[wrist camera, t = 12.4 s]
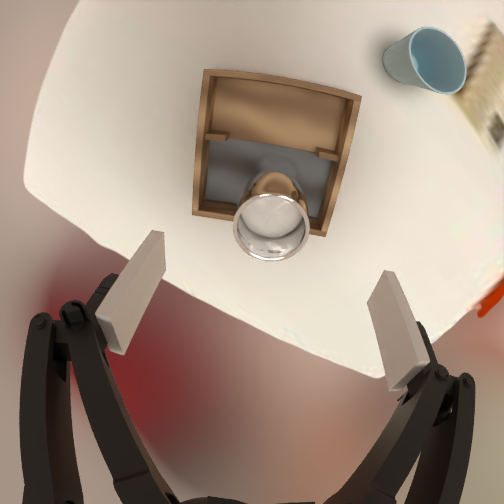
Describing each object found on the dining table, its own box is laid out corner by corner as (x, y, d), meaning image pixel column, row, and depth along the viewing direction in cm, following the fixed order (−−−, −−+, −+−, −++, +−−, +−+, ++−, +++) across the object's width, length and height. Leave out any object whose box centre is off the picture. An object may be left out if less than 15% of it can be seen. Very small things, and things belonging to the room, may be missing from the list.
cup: (365, 68, 26) (398, 62, 18) (387, 28, 22) (423, 13, 14) (410, 100, 28) (451, 108, 19) (430, 61, 24) (473, 60, 15)
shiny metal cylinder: (239, 186, 37) (217, 243, 24) (262, 142, 33) (252, 176, 21) (283, 208, 38) (285, 274, 25) (309, 167, 34) (327, 216, 22)
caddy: (212, 71, 29) (204, 69, 25) (351, 95, 29) (361, 96, 25) (200, 201, 39) (192, 215, 35) (321, 221, 39) (325, 237, 36)
